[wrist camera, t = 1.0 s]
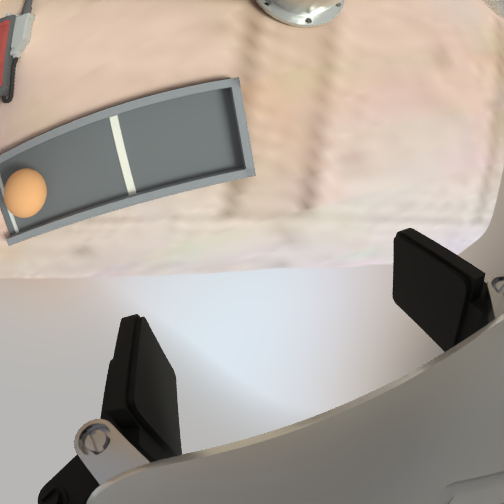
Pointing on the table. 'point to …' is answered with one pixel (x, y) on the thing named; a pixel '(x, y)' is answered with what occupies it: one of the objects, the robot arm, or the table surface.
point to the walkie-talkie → (13, 46)
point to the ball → (25, 193)
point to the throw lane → (133, 155)
